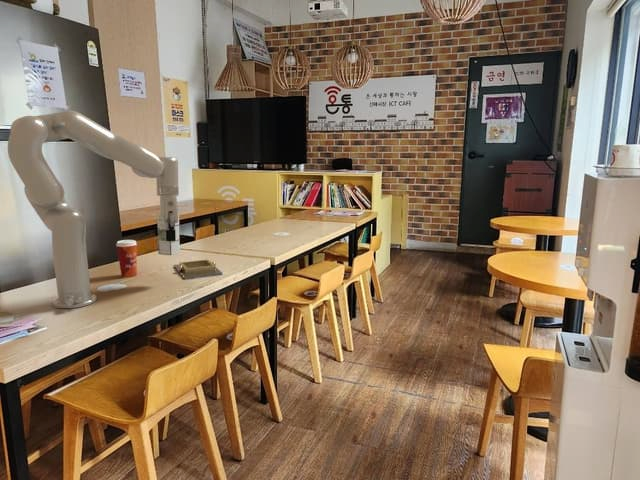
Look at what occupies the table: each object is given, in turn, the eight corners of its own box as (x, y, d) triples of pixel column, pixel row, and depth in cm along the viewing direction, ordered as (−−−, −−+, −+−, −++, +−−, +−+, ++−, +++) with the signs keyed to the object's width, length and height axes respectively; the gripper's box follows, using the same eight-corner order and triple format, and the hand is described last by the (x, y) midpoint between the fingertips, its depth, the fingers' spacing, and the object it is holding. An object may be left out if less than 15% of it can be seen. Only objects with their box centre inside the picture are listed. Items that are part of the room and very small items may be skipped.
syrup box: (180, 252, 171) (179, 214, 169) (171, 255, 166) (170, 216, 163) (167, 251, 173) (166, 213, 170) (157, 254, 167) (156, 215, 165)
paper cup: (132, 278, 178) (129, 243, 175) (114, 277, 180) (111, 242, 177) (143, 273, 186) (140, 239, 183) (126, 272, 187) (123, 239, 184)
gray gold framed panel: (222, 274, 184) (222, 267, 183) (184, 279, 177) (184, 272, 176) (208, 262, 203) (208, 256, 202) (174, 266, 196) (173, 259, 196)
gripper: (183, 193, 160) (184, 242, 163) (174, 189, 175) (174, 234, 178) (160, 193, 156) (162, 243, 159) (153, 189, 171) (154, 235, 174)
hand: (168, 238), depth 168 cm, fingers closed on syrup box, 8 cm apart
